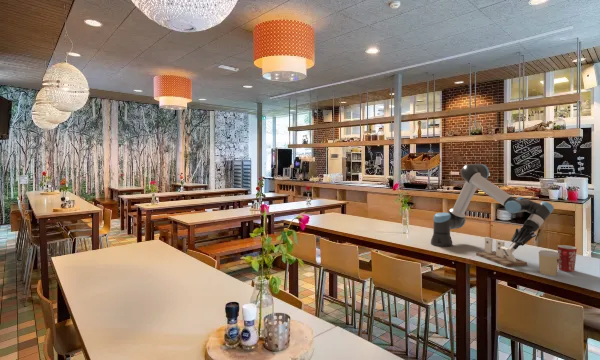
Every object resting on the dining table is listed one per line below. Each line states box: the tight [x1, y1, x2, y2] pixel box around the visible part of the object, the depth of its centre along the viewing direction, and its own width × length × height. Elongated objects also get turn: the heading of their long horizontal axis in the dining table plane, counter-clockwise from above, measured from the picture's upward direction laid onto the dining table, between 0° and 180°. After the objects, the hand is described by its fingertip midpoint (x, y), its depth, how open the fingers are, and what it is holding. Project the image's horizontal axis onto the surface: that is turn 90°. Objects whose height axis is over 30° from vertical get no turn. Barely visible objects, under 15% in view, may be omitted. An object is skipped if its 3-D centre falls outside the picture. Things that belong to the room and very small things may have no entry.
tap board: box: [475, 250, 528, 268], centre depth 217 cm, size 26×14×2 cm, turn 11°
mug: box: [556, 244, 578, 273], centre depth 195 cm, size 13×9×14 cm
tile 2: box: [495, 239, 505, 258], centre depth 217 cm, size 5×2×10 cm, turn 11°
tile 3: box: [501, 246, 517, 262], centre depth 206 cm, size 5×2×10 cm
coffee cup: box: [538, 249, 559, 277], centre depth 191 cm, size 9×9×12 cm
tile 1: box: [484, 236, 493, 254], centre depth 227 cm, size 5×2×10 cm, turn 11°
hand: (509, 252), depth 206 cm, fingers closed
